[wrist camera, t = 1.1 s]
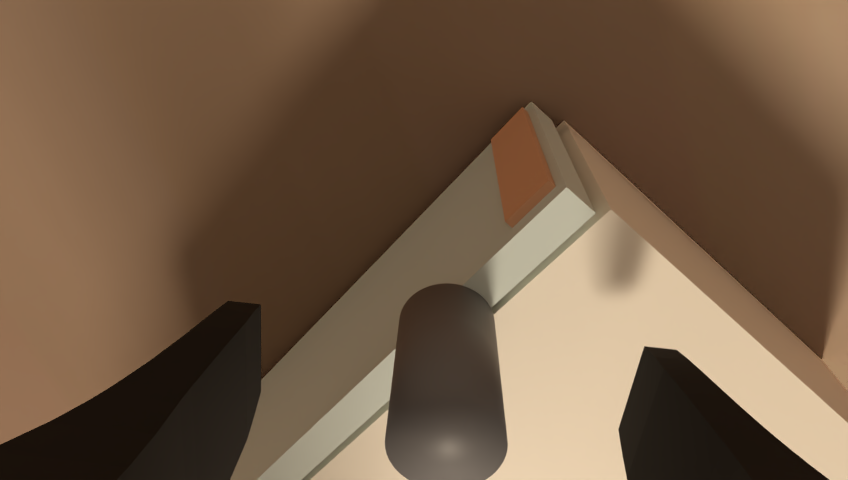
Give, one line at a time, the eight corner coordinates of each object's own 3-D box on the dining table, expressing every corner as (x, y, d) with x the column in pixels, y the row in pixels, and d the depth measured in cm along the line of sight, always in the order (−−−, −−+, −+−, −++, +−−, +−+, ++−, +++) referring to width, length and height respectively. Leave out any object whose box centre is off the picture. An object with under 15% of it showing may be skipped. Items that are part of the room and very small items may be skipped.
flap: (247, 448, 24) (134, 752, 15) (199, 419, 23) (55, 717, 15) (567, 134, 18) (670, 336, 10) (515, 86, 18) (576, 255, 9)
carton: (481, 595, 27) (490, 763, 22) (238, 443, 24) (178, 597, 19) (822, 360, 22) (945, 510, 16) (564, 120, 18) (611, 209, 13)
